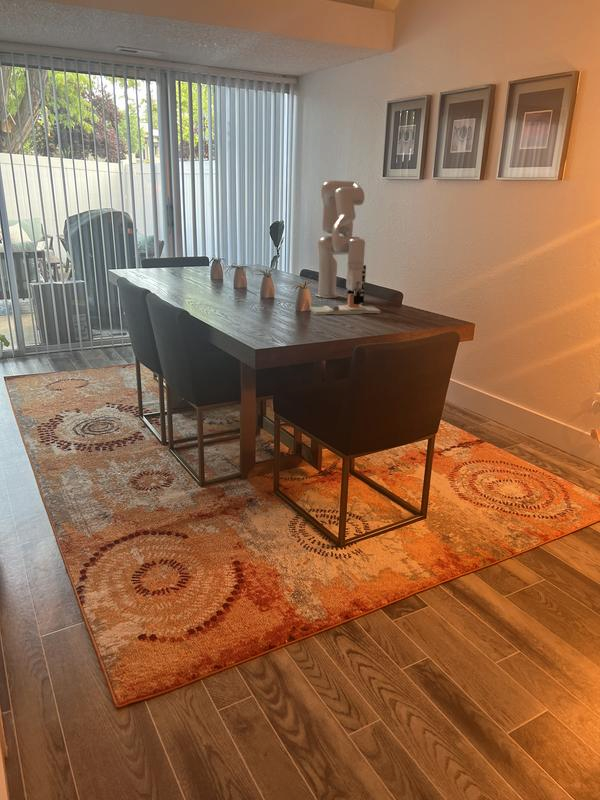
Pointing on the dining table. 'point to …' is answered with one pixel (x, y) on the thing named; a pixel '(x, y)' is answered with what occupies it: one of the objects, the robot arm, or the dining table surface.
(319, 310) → the ticket board
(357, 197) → the robot arm
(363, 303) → the white-spotted black cylinder
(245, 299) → the dining table surface
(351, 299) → the stub
